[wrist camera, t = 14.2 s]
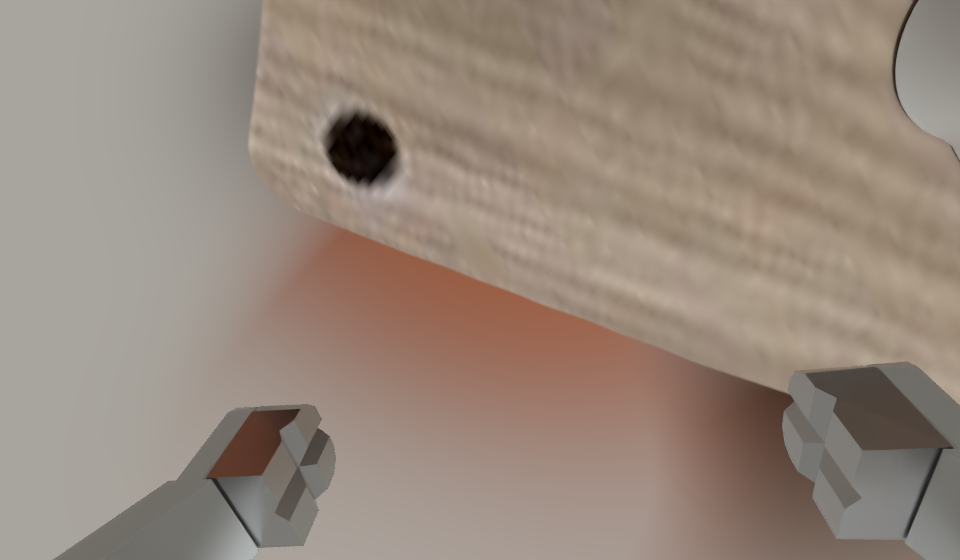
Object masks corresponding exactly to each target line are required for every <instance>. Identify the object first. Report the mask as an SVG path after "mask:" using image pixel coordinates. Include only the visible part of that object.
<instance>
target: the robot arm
mask: <svg viewBox="0 0 960 560" xmlns="http://www.w3.org/2000/svg"><path fill="white" fill-rule="evenodd" d="M895 78H896V87H897V92H898V96H899V99H900V102H901V104H902V106H903V108H904V110H905V112H906V113H907V115H908V116H909V118H910V119H911V120H912V121H913V122H914V123H915V124H916V125H917V126H918V127H920V128H921V129H922V130H924V131H925V132H927V133H929V134H931V135H933V136H935V137H937V138H939V139H941V140H943V141H945V142H947V143H948V144H950V145H951V146H952V147H953V149H954V151H955V153H956V155H957V156H958V158H959V160H960V0H918V2H917V4H916V6H915V7H914V9H913V11H912V13H911V15H910V17H909V20H908V22H907V24H906V26H905V29H904V32H903V34H902V38H901V41H900V44H899V49H898V53H897V59H896V69H895ZM788 391H789V393H790V394H791V396H792V397H793V399H794V400H795V402H794V403H793V404H792V405H790V406H789V407H788V408H787V409H786V410H785V411H784V417H783V425H782V428H783V435H784V441H785V445H786V448H787V451H788V453H789V456H790V458H791V460H792V462H793V464H794V465H795V467H796V469H797V471H798V472H799V473H801V474H803V475H804V476H805V477H807V478H809V479H810V480H811V481H813V482H814V483H815V487H814V492H813V496H812V497H813V499H814V501H815V502H816V504H817V506H818V508H819V509H820V511H821V513H822V514H823V516H824V518H825V520H826V521H827V523H828V525H829V526H830V528H831V530H832V532H833V533H834V535H835V537H836V539H888V540H890V539H892V540H906V541H905V543H906V544H907V545H908V546H909V547H911V548H912V549H913V550H915V551H916V552H917V553H918V554H920V555H921V556H922V557H924V558H925V559H926V560H960V405H959V404H958V403H957V402H955V401H954V400H953V399H952V398H951V397H950V396H949V395H948V394H947V393H946V392H945V391H944V390H942V389H941V388H940V387H939V386H938V385H937V384H936V383H935V382H934V381H933V380H932V379H931V378H929V377H928V376H927V375H926V374H925V373H924V372H923V371H922V370H921V369H920V368H919V367H917V366H916V365H913V364H911V363H909V362H896V363H884V364H872V365H867V366H851V367H838V368H825V369H812V370H799V371H795V372H794V373H793V374H792V376H791V377H790V381H789V387H788ZM321 420H322V419H321V417H320V415H319V413H318V411H317V409H316V407H315V406H312V405H308V404H302V405H280V406H260V407H245V408H236V409H234V410H232V411H230V412H228V413H227V414H226V416H225V417H224V419H223V420H222V421H221V422H220V424H219V425H218V426H217V428H216V429H215V430H214V432H213V433H212V434H211V435H210V437H209V438H208V439H207V441H206V442H205V443H204V445H203V446H202V447H201V449H200V450H199V451H198V453H197V454H196V455H195V457H194V458H193V459H192V460H191V462H190V463H189V464H188V466H187V467H186V468H185V470H184V471H183V472H182V474H181V475H180V476H179V477H178V479H177V480H176V481H168V482H166V483H165V484H163V485H162V486H160V487H159V488H157V489H156V490H154V491H153V492H151V493H150V494H149V495H147V496H146V497H144V498H143V499H141V500H140V501H138V502H137V503H135V504H134V505H132V506H131V507H130V508H128V509H127V510H125V511H124V512H122V513H121V514H119V515H118V516H116V517H115V518H113V519H112V520H111V521H109V522H108V523H106V524H105V525H103V526H102V527H100V528H99V529H97V530H96V531H94V532H93V533H91V534H90V535H88V536H87V537H86V538H84V539H83V540H81V541H80V542H78V543H77V544H75V545H74V546H72V547H71V548H69V549H68V550H66V551H65V552H64V553H62V554H61V555H59V556H58V557H56V558H55V559H53V560H251V558H252V557H253V556H254V555H255V554H256V553H257V552H258V551H259V549H258V548H263V547H286V546H304V543H305V541H306V539H307V536H308V534H309V532H310V529H311V527H312V525H313V522H314V520H315V518H316V516H317V513H318V511H319V509H318V506H317V502H316V498H317V497H319V496H320V495H321V494H322V493H323V492H324V491H325V490H327V489H328V487H329V485H330V482H331V480H332V477H333V475H334V469H335V461H336V455H335V449H334V445H333V442H332V440H331V438H330V436H328V435H327V434H326V433H324V432H323V431H322V430H320V429H319V428H318V427H319V425H320V422H321Z"/></svg>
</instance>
